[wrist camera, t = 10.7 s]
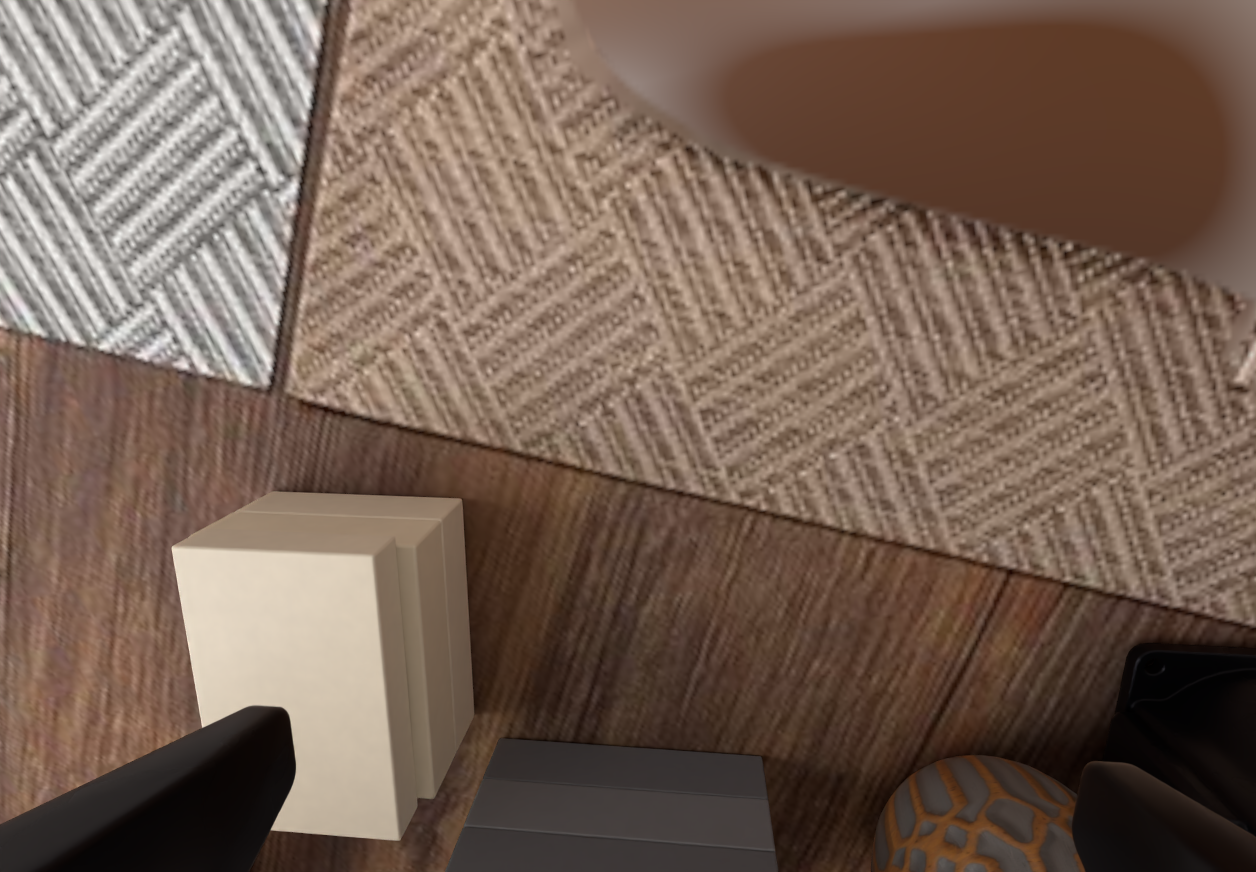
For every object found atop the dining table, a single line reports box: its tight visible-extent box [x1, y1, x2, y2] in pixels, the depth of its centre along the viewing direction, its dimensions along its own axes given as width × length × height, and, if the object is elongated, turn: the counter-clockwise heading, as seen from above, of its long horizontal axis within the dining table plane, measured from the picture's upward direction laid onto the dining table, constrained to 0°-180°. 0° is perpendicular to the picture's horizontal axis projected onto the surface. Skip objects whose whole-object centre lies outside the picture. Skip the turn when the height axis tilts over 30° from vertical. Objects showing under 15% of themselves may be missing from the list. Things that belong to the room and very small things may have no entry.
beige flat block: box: [172, 528, 418, 841], centre depth 17 cm, size 8×5×1 cm, turn 0°
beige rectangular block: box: [190, 491, 474, 799], centre depth 20 cm, size 6×8×4 cm
